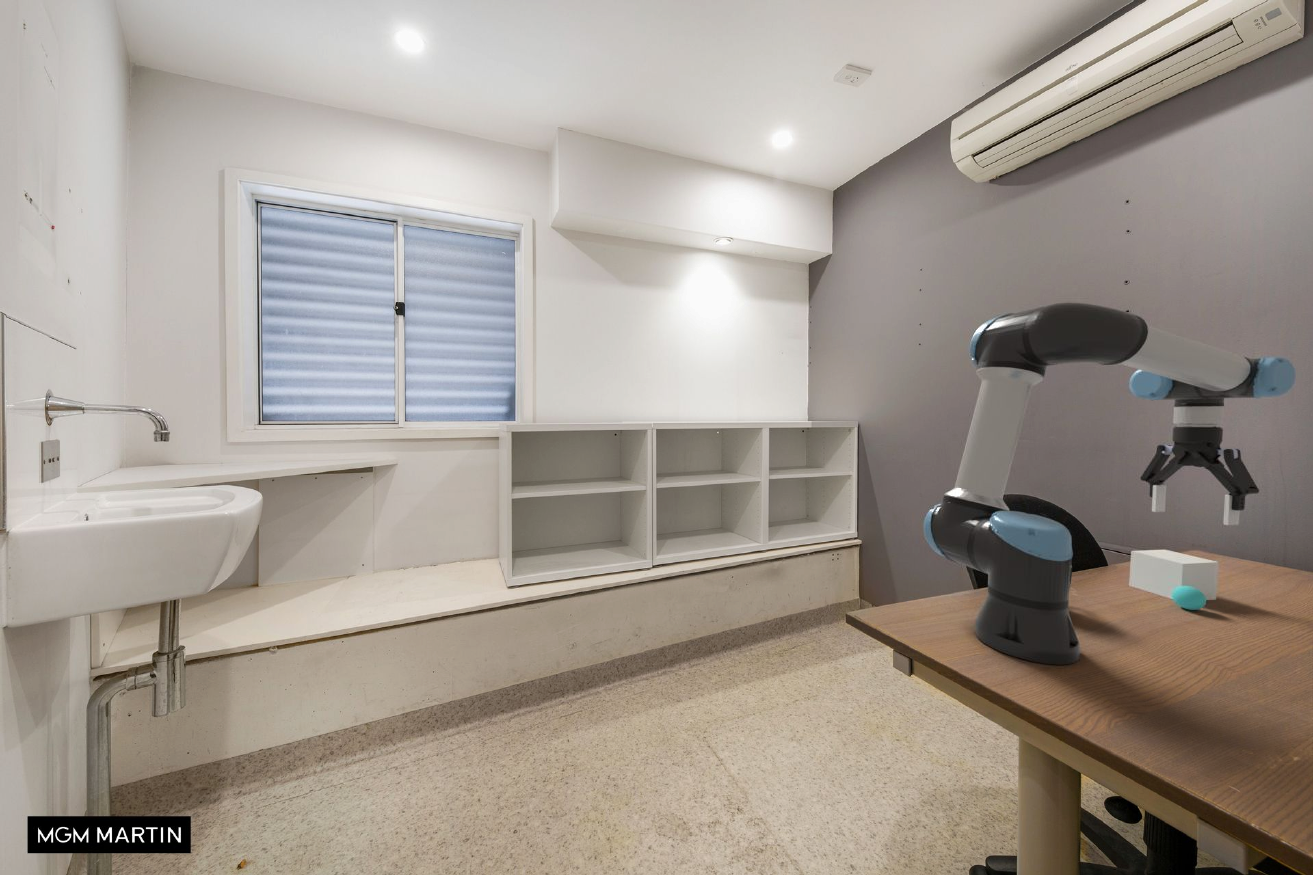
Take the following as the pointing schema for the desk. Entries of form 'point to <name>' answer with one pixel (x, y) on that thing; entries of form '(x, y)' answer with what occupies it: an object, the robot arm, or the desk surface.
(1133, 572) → the white rectangular brick
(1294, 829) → the desk surface
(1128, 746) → the desk surface
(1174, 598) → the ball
